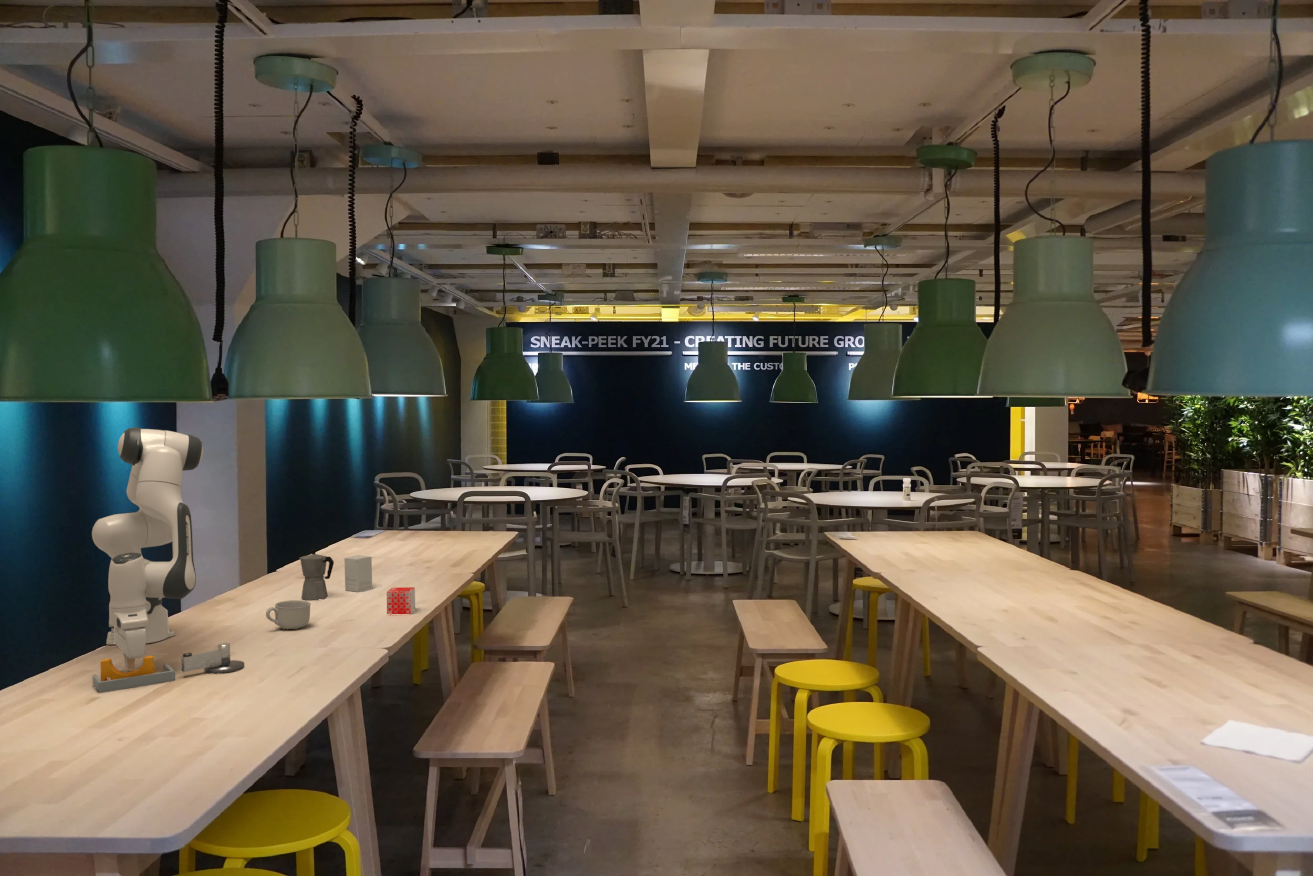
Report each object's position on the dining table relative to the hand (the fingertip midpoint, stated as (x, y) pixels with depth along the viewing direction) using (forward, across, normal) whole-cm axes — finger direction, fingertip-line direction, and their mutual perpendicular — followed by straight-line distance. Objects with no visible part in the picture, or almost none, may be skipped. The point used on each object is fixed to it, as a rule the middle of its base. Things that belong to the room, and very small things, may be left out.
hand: (130, 668), depth 268 cm
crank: (+1, +7, +17) cm, 19 cm away
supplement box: (+3, -81, +93) cm, 123 cm away
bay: (+3, +5, 0) cm, 6 cm away
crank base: (+3, +6, +22) cm, 23 cm away
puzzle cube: (+3, -32, +89) cm, 95 cm away
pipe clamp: (+3, +3, -1) cm, 5 cm away
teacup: (+3, -32, +51) cm, 60 cm away
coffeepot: (+3, -75, +75) cm, 106 cm away
